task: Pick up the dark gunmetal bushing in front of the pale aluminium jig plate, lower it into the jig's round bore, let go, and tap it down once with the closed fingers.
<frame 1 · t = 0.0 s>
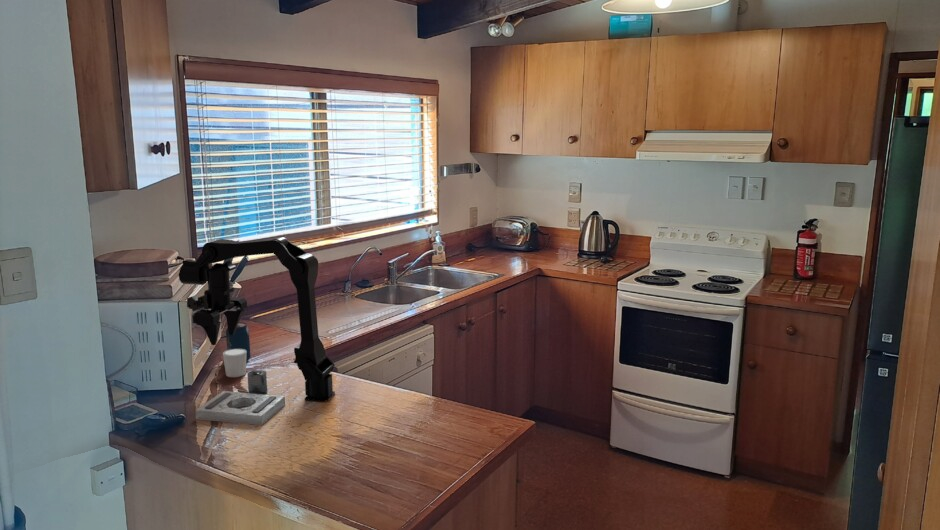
hand: (222, 339, 189), 15 cm above the counter, fingers open, 9 cm apart
jig: (241, 411, 177), on the counter
bushing: (258, 393, 189), on the counter
soda can: (239, 361, 215), on the counter
white cylinder: (236, 374, 204), on the counter
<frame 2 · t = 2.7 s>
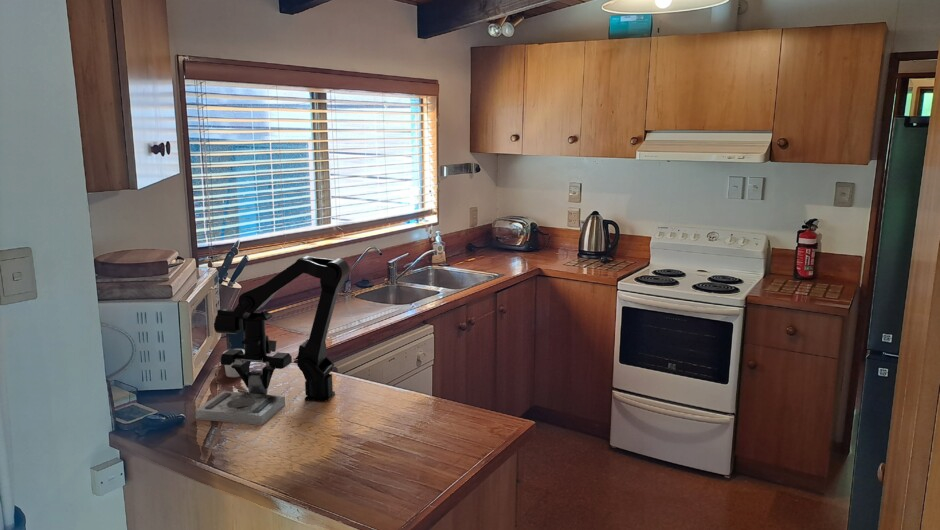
hand: (257, 388, 189), 2 cm above the counter, fingers closed on bushing, 5 cm apart
bushing: (258, 393, 189), on the counter, touching gripper
everything else where it was.
when the fingers open (3 cm above the counter, at t = 7.5 s): bushing drops 2 cm, resting in jig.
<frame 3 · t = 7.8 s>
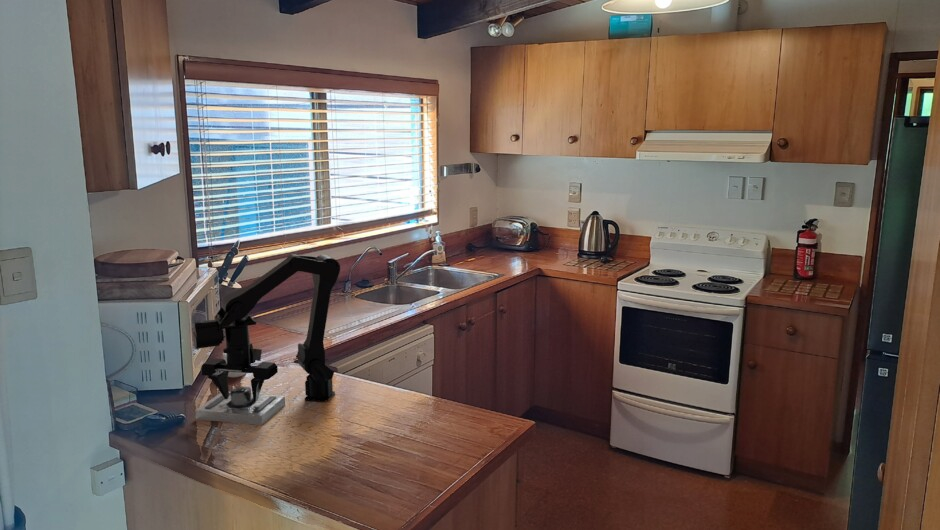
hand: (241, 400, 176), 3 cm above the counter, fingers open, 8 cm apart
bushing: (242, 412, 177), resting in jig
everything else where it was.
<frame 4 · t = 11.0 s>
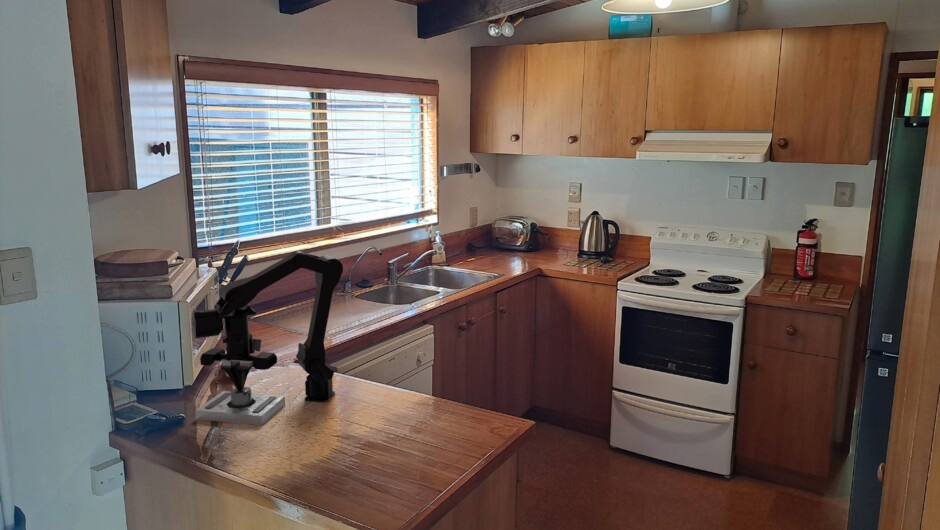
hand: (240, 390, 175), 6 cm above the counter, fingers closed, pressing on bushing
bushing: (242, 412, 177), resting in jig, touching gripper
everything else where it was.
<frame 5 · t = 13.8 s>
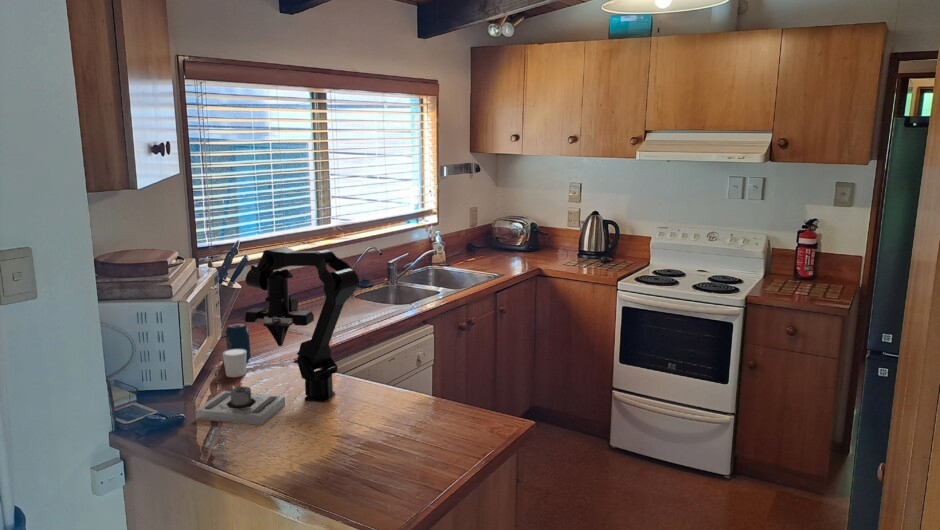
hand: (280, 345, 193), 12 cm above the counter, fingers closed
bushing: (242, 412, 176), resting in jig
everything else where it was.
at the end: bushing 0.0 cm off-centre on the jig, point 0.0 cm above the jig's base; bushing tilted 1°; the gripper is holding nothing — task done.
